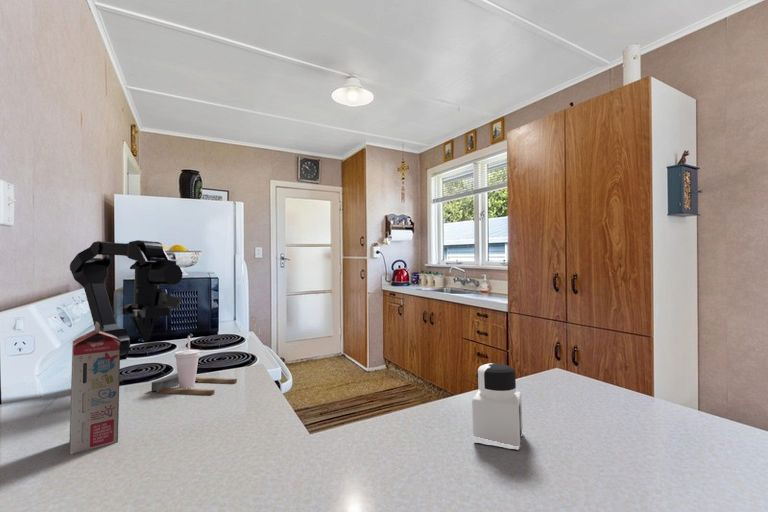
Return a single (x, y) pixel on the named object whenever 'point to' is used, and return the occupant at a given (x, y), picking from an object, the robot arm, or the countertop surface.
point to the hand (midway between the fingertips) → (145, 341)
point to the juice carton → (94, 390)
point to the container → (497, 405)
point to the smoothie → (187, 366)
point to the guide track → (173, 380)
